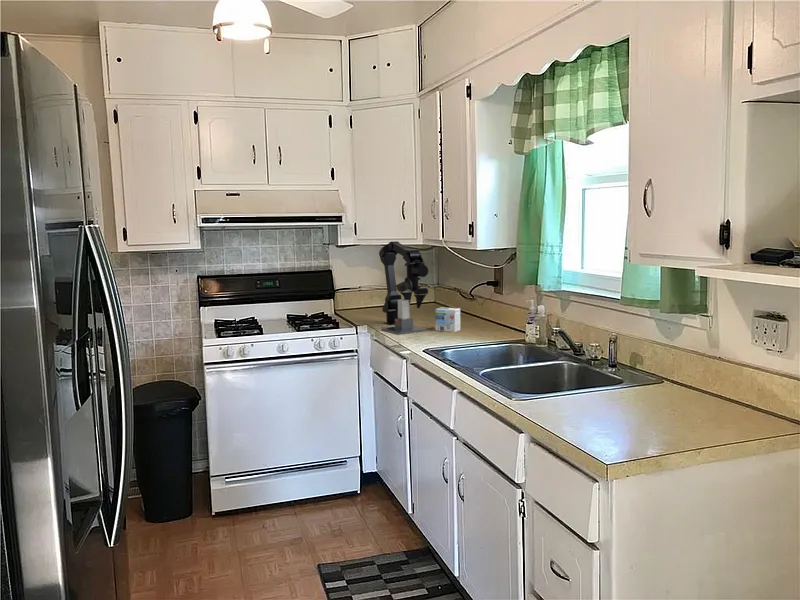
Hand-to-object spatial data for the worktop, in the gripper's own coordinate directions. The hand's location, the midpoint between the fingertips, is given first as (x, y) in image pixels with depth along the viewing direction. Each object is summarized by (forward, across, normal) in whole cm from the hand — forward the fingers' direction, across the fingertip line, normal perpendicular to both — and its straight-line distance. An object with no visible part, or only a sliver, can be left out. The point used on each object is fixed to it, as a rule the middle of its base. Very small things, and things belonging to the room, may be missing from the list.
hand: (413, 307), depth 330 cm
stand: (+11, 0, -6) cm, 12 cm away
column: (+6, 0, -6) cm, 8 cm away
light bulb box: (+11, +13, +12) cm, 21 cm away
